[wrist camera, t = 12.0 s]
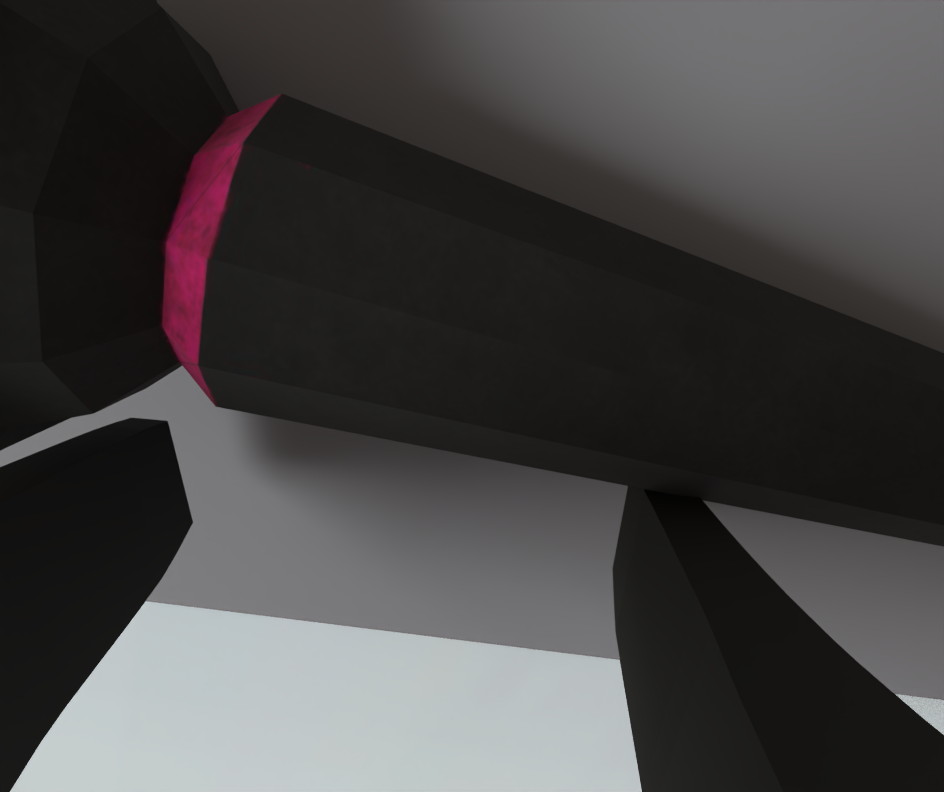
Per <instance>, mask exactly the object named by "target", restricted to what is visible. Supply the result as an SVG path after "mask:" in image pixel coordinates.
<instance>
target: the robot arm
mask: <svg viewBox="0 0 944 792" xmlns="http://www.w3.org/2000/svg"><path fill="white" fill-rule="evenodd" d="M192 524H193V520H192V516H191V512H190V508H189V504H188V500H187V496H186V492H185V488H184V484H183V480H182V476H181V472H180V468H179V464H178V460H177V456H176V452H175V448H174V444H173V440H172V436H171V432H170V428H169V424H168V421H164V420H153V419H142V418H129V419H125V420H122V421H118V422H115V423H112V424H109V425H106V426H103V427H100V428H98V429H95V430H92V431H89V432H87V433H84V434H82V435H79V436H76V437H74V438H71V439H69V440H66V441H64V442H61V443H59V444H56V445H54V446H51V447H49V448H46V449H44V450H41V451H39V452H36V453H34V454H31V455H29V456H26V457H24V458H22V459H19V460H17V461H14V462H12V463H9V464H7V465H4V466H2V467H0V792H10V790H11V789H12V787H13V786H14V784H15V782H16V781H17V779H18V778H19V776H20V774H21V773H22V771H23V770H24V768H25V766H26V765H27V763H28V762H29V760H30V758H31V757H32V755H33V754H34V752H35V750H36V749H37V747H38V746H39V744H40V742H41V741H42V740H43V738H44V737H45V735H46V734H47V732H48V731H49V730H50V728H51V727H52V725H53V724H54V722H55V721H56V720H57V718H58V717H59V715H60V714H61V713H62V711H63V710H64V708H65V707H66V706H67V704H68V703H69V702H70V700H71V699H72V698H73V696H74V695H75V694H76V692H77V691H78V690H79V689H80V687H81V686H82V685H83V683H84V682H85V681H86V679H87V678H88V677H89V675H90V674H91V673H92V671H93V670H94V669H95V667H96V666H97V665H98V663H99V662H100V661H101V660H102V658H103V657H104V656H105V654H106V653H107V652H108V650H109V649H110V648H111V646H112V645H113V644H114V642H115V641H116V640H117V638H118V637H119V636H120V634H121V633H122V632H123V631H124V629H125V628H126V627H127V625H128V624H129V623H130V621H131V620H132V619H133V617H134V616H135V615H136V613H137V612H138V611H139V609H140V608H141V606H142V605H143V604H144V602H145V601H146V600H147V598H148V597H149V596H150V594H151V593H152V592H153V590H154V589H155V587H156V586H157V585H158V583H159V582H160V580H161V579H162V578H163V576H164V574H165V573H166V571H167V569H168V567H169V566H170V564H171V562H172V561H173V559H174V557H175V555H176V554H177V552H178V550H179V548H180V546H181V544H182V543H183V541H184V539H185V537H186V535H187V533H188V531H189V529H190V527H191V526H192ZM612 570H613V594H614V614H615V632H616V638H617V645H618V651H619V657H620V663H621V669H622V675H623V681H624V687H625V693H626V699H627V705H628V711H629V717H630V723H631V729H632V735H633V740H634V746H635V752H636V758H637V764H638V770H639V776H640V782H641V788H642V792H944V735H943V734H942V733H940V732H939V731H938V730H937V729H935V728H934V727H933V726H932V725H930V724H929V723H928V722H927V721H926V720H924V719H923V718H922V717H921V716H920V715H918V714H917V713H916V712H915V711H914V710H912V709H911V708H910V707H909V706H908V705H907V704H906V703H904V702H903V701H902V700H901V699H900V698H899V697H897V696H896V695H895V694H894V693H893V692H892V691H891V690H889V689H888V688H887V687H886V686H885V685H884V684H882V683H881V682H880V681H879V680H878V679H877V678H876V677H874V676H873V675H872V674H871V673H870V672H869V671H867V670H866V669H865V668H864V667H863V666H862V665H861V664H859V663H858V662H857V661H856V660H855V659H854V658H853V657H852V656H851V655H850V654H848V653H847V652H846V651H845V650H844V649H843V648H842V647H841V646H840V645H839V644H838V643H836V642H835V641H834V640H833V639H832V638H831V637H830V636H829V635H828V634H827V633H826V632H825V631H824V630H823V629H822V628H821V627H820V626H819V625H818V624H817V623H816V622H815V621H814V620H813V619H812V618H811V617H810V616H809V615H808V614H807V613H806V612H805V611H804V610H803V609H802V608H801V607H800V606H799V605H798V604H797V603H795V602H794V601H793V600H792V599H791V598H790V597H789V596H788V595H787V594H786V593H785V591H784V590H783V589H782V588H781V587H780V586H779V585H778V584H777V583H776V582H775V581H774V580H773V579H772V578H771V577H770V576H769V575H768V574H767V573H766V572H765V571H764V569H763V568H762V567H761V566H760V565H759V564H758V563H757V562H756V561H755V560H754V559H753V558H752V556H751V555H750V554H749V553H748V552H747V551H746V550H745V549H744V548H743V547H742V545H741V544H740V543H739V542H738V541H737V540H736V539H735V538H734V536H733V535H732V534H731V533H730V532H729V531H728V530H727V528H726V527H725V526H724V525H723V524H722V523H721V521H720V520H719V519H718V518H717V517H716V516H715V514H714V513H713V512H712V511H711V510H710V509H709V507H708V506H707V505H706V504H705V503H704V501H703V500H702V499H701V498H698V497H689V496H679V495H673V494H667V493H662V492H657V491H652V490H647V489H641V488H636V487H631V486H628V489H627V494H626V499H625V504H624V510H623V515H622V520H621V526H620V531H619V536H618V542H617V547H616V552H615V558H614V563H613V568H612Z"/></svg>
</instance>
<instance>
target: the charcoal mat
mask: <svg viewBox="0 0 944 792" xmlns="http://www.w3.org/2000/svg"><path fill="white" fill-rule="evenodd" d="M157 3H158V4H159V5H160V6H161V7H162V8H163V9H164V10H165V11H166V12H167V13H168V14H169V15H170V16H171V17H172V18H173V19H174V20H175V21H176V22H177V23H179V24H180V25H181V26H182V27H183V28H184V29H185V30H186V31H187V32H188V33H189V34H190V35H191V36H192V37H193V38H194V39H195V40H196V41H197V42H198V43H199V44H200V45H201V46H202V47H203V48H204V49H205V50H206V51H207V52H208V53H209V54H210V55H211V57H212V59H213V61H214V63H215V65H216V67H217V69H218V71H219V73H220V75H221V77H222V79H223V81H224V83H225V84H226V86H227V88H228V90H229V92H230V94H231V96H232V98H233V100H234V102H235V104H236V106H237V108H238V110H239V112H240V111H242V110H245V109H247V108H249V107H252V106H254V105H256V104H259V103H261V102H263V101H265V100H268V99H270V98H272V97H275V96H277V95H279V94H285V95H287V96H290V97H292V98H295V99H298V100H300V101H303V102H305V103H308V104H310V105H313V106H315V107H318V108H320V109H323V110H326V111H328V112H331V113H333V114H336V115H338V116H341V117H343V118H346V119H348V120H351V121H354V122H356V123H359V124H361V125H364V126H366V127H369V128H371V129H374V130H377V131H379V132H382V133H384V134H387V135H389V136H392V137H394V138H397V139H399V140H402V141H405V142H407V143H410V144H412V145H415V146H417V147H420V148H422V149H425V150H427V151H430V152H433V153H435V154H438V155H440V156H443V157H445V158H448V159H450V160H453V161H455V162H458V163H461V164H463V165H466V166H468V167H471V168H473V169H476V170H478V171H481V172H484V173H486V174H489V175H491V176H494V177H496V178H499V179H501V180H504V181H506V182H509V183H512V184H514V185H517V186H519V187H522V188H524V189H527V190H529V191H532V192H534V193H537V194H540V195H542V196H545V197H547V198H550V199H552V200H555V201H557V202H560V203H562V204H565V205H568V206H570V207H573V208H575V209H578V210H580V211H583V212H585V213H588V214H591V215H593V216H596V217H598V218H601V219H603V220H606V221H608V222H611V223H613V224H616V225H619V226H621V227H624V228H626V229H629V230H631V231H634V232H636V233H639V234H641V235H644V236H647V237H649V238H652V239H654V240H657V241H659V242H662V243H664V244H667V245H670V246H672V247H675V248H677V249H680V250H682V251H685V252H687V253H690V254H692V255H695V256H698V257H700V258H703V259H705V260H708V261H710V262H713V263H715V264H718V265H720V266H723V267H726V268H728V269H731V270H733V271H736V272H738V273H741V274H743V275H746V276H748V277H751V278H754V279H756V280H759V281H761V282H764V283H766V284H769V285H771V286H774V287H777V288H779V289H782V290H784V291H787V292H789V293H792V294H794V295H797V296H799V297H802V298H805V299H807V300H810V301H812V302H815V303H817V304H820V305H822V306H825V307H827V308H830V309H833V310H835V311H838V312H840V313H843V314H845V315H848V316H850V317H853V318H856V319H858V320H861V321H863V322H866V323H868V324H871V325H873V326H876V327H878V328H881V329H884V330H886V331H889V332H891V333H894V334H896V335H899V336H901V337H904V338H906V339H909V340H912V341H914V342H917V343H919V344H922V345H924V346H927V347H929V348H932V349H934V350H937V351H940V352H942V353H944V0H157ZM129 418H142V419H153V420H164V421H168V424H169V428H170V432H171V436H172V440H173V444H174V448H175V452H176V456H177V460H178V464H179V468H180V472H181V476H182V480H183V484H184V488H185V492H186V496H187V500H188V504H189V508H190V512H191V516H192V520H193V524H192V526H191V527H190V529H189V531H188V533H187V535H186V537H185V539H184V541H183V543H182V544H181V546H180V548H179V550H178V552H177V554H176V555H175V557H174V559H173V561H172V562H171V564H170V566H169V567H168V569H167V571H166V573H165V574H164V576H163V578H162V579H161V580H160V582H159V583H158V585H157V586H156V587H155V589H154V590H153V592H152V593H151V594H150V596H149V597H148V598H147V600H146V601H149V602H158V603H166V604H174V605H182V606H190V607H198V608H206V609H214V610H222V611H230V612H238V613H246V614H254V615H263V616H271V617H279V618H287V619H295V620H303V621H311V622H319V623H327V624H335V625H343V626H351V627H359V628H368V629H376V630H384V631H392V632H400V633H408V634H416V635H424V636H432V637H440V638H448V639H456V640H464V641H473V642H481V643H489V644H497V645H505V646H513V647H521V648H529V649H537V650H545V651H553V652H561V653H569V654H578V655H586V656H594V657H602V658H610V659H618V660H620V657H619V651H618V645H617V638H616V632H615V614H614V594H613V570H612V568H613V563H614V558H615V552H616V547H617V542H618V536H619V531H620V526H621V520H622V515H623V510H624V504H625V499H626V494H627V489H628V486H626V485H621V484H615V483H610V482H605V481H600V480H595V479H589V478H584V477H579V476H574V475H569V474H563V473H558V472H553V471H548V470H543V469H537V468H532V467H527V466H522V465H517V464H511V463H506V462H501V461H496V460H491V459H485V458H480V457H475V456H470V455H465V454H459V453H454V452H449V451H444V450H439V449H433V448H428V447H423V446H418V445H413V444H407V443H402V442H397V441H392V440H387V439H381V438H376V437H371V436H366V435H361V434H355V433H350V432H345V431H340V430H335V429H329V428H324V427H319V426H314V425H309V424H303V423H298V422H293V421H288V420H283V419H277V418H272V417H267V416H262V415H257V414H251V413H246V412H241V411H236V410H231V409H225V408H220V407H215V405H214V404H213V403H212V402H211V400H210V399H209V398H208V397H207V395H206V394H205V393H204V392H203V390H202V389H201V388H200V387H199V385H198V384H197V383H196V382H195V380H194V379H193V378H192V377H191V375H190V374H189V373H188V372H187V370H186V369H185V368H184V367H183V366H181V367H179V368H178V369H176V370H175V371H173V372H171V373H170V374H168V375H167V376H165V377H164V378H162V379H160V380H159V381H157V382H156V383H154V384H152V385H151V386H149V387H148V388H146V389H144V390H142V391H139V392H137V393H135V394H133V395H131V396H129V397H127V398H125V399H123V400H121V401H119V402H117V403H115V404H112V405H110V406H108V407H106V408H104V409H102V410H100V411H98V412H96V413H94V414H89V415H84V416H78V417H72V418H70V419H67V420H65V421H63V422H61V423H59V424H57V425H55V426H52V427H50V428H48V429H46V430H44V431H42V432H39V433H37V434H35V435H33V436H31V437H29V438H26V439H24V440H22V441H20V442H18V443H16V444H13V445H11V446H9V447H7V448H5V449H3V450H1V451H0V467H2V466H4V465H7V464H9V463H12V462H14V461H17V460H19V459H22V458H24V457H26V456H29V455H31V454H34V453H36V452H39V451H41V450H44V449H46V448H49V447H51V446H54V445H56V444H59V443H61V442H64V441H66V440H69V439H71V438H74V437H76V436H79V435H82V434H84V433H87V432H89V431H92V430H95V429H98V428H100V427H103V426H106V425H109V424H112V423H115V422H118V421H122V420H125V419H129ZM703 501H704V500H703ZM704 503H705V504H706V505H707V506H708V507H709V509H710V510H711V511H712V512H713V513H714V514H715V516H716V517H717V518H718V519H719V520H720V521H721V523H722V524H723V525H724V526H725V527H726V528H727V530H728V531H729V532H730V533H731V534H732V535H733V536H734V538H735V539H736V540H737V541H738V542H739V543H740V544H741V545H742V547H743V548H744V549H745V550H746V551H747V552H748V553H749V554H750V555H751V556H752V558H753V559H754V560H755V561H756V562H757V563H758V564H759V565H760V566H761V567H762V568H763V569H764V571H765V572H766V573H767V574H768V575H769V576H770V577H771V578H772V579H773V580H774V581H775V582H776V583H777V584H778V585H779V586H780V587H781V588H782V589H783V590H784V591H785V593H786V594H787V595H788V596H789V597H790V598H791V599H792V600H793V601H794V602H795V603H797V604H798V605H799V606H800V607H801V608H802V609H803V610H804V611H805V612H806V613H807V614H808V615H809V616H810V617H811V618H812V619H813V620H814V621H815V622H816V623H817V624H818V625H819V626H820V627H821V628H822V629H823V630H824V631H825V632H826V633H827V634H828V635H829V636H830V637H831V638H832V639H833V640H834V641H835V642H836V643H838V644H839V645H840V646H841V647H842V648H843V649H844V650H845V651H846V652H847V653H848V654H850V655H851V656H852V657H853V658H854V659H855V660H856V661H857V662H858V663H859V664H861V665H862V666H863V667H864V668H865V669H866V670H867V671H869V672H870V673H871V674H872V675H873V676H874V677H876V678H877V679H878V680H879V681H880V682H881V683H882V684H884V685H885V686H886V687H887V688H888V689H889V690H891V691H892V692H893V693H894V694H901V695H909V696H917V697H925V698H933V699H941V700H944V547H943V546H938V545H933V544H927V543H922V542H917V541H912V540H907V539H901V538H896V537H891V536H886V535H881V534H875V533H870V532H865V531H860V530H855V529H849V528H844V527H839V526H834V525H829V524H823V523H818V522H813V521H808V520H803V519H797V518H792V517H787V516H782V515H777V514H771V513H766V512H761V511H756V510H751V509H745V508H740V507H735V506H730V505H725V504H719V503H714V502H709V501H704Z"/></svg>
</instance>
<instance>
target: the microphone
mask: <svg viewBox="0 0 944 792" xmlns="http://www.w3.org/2000/svg"><path fill="white" fill-rule="evenodd" d="M181 366H183V367H184V368H185V369H186V370H187V372H188V373H189V374H190V375H191V377H192V378H193V379H194V380H195V382H196V383H197V384H198V385H199V387H200V388H201V389H202V390H203V392H204V393H205V394H206V395H207V397H208V398H209V399H210V400H211V402H212V403H213V404H214V405H215V407H220V408H225V409H231V410H236V411H241V412H246V413H251V414H257V415H262V416H267V417H272V418H277V419H283V420H288V421H293V422H298V423H303V424H309V425H314V426H319V427H324V428H329V429H335V430H340V431H345V432H350V433H355V434H361V435H366V436H371V437H376V438H381V439H387V440H392V441H397V442H402V443H407V444H413V445H418V446H423V447H428V448H433V449H439V450H444V451H449V452H454V453H459V454H465V455H470V456H475V457H480V458H485V459H491V460H496V461H501V462H506V463H511V464H517V465H522V466H527V467H532V468H537V469H543V470H548V471H553V472H558V473H563V474H569V475H574V476H579V477H584V478H589V479H595V480H600V481H605V482H610V483H615V484H621V485H626V486H631V487H636V488H641V489H647V490H652V491H657V492H662V493H667V494H673V495H679V496H689V497H698V498H701V499H702V500H704V501H709V502H714V503H719V504H725V505H730V506H735V507H740V508H745V509H751V510H756V511H761V512H766V513H771V514H777V515H782V516H787V517H792V518H797V519H803V520H808V521H813V522H818V523H823V524H829V525H834V526H839V527H844V528H849V529H855V530H860V531H865V532H870V533H875V534H881V535H886V536H891V537H896V538H901V539H907V540H912V541H917V542H922V543H927V544H933V545H938V546H943V547H944V353H942V352H940V351H937V350H934V349H932V348H929V347H927V346H924V345H922V344H919V343H917V342H914V341H912V340H909V339H906V338H904V337H901V336H899V335H896V334H894V333H891V332H889V331H886V330H884V329H881V328H878V327H876V326H873V325H871V324H868V323H866V322H863V321H861V320H858V319H856V318H853V317H850V316H848V315H845V314H843V313H840V312H838V311H835V310H833V309H830V308H827V307H825V306H822V305H820V304H817V303H815V302H812V301H810V300H807V299H805V298H802V297H799V296H797V295H794V294H792V293H789V292H787V291H784V290H782V289H779V288H777V287H774V286H771V285H769V284H766V283H764V282H761V281H759V280H756V279H754V278H751V277H748V276H746V275H743V274H741V273H738V272H736V271H733V270H731V269H728V268H726V267H723V266H720V265H718V264H715V263H713V262H710V261H708V260H705V259H703V258H700V257H698V256H695V255H692V254H690V253H687V252H685V251H682V250H680V249H677V248H675V247H672V246H670V245H667V244H664V243H662V242H659V241H657V240H654V239H652V238H649V237H647V236H644V235H641V234H639V233H636V232H634V231H631V230H629V229H626V228H624V227H621V226H619V225H616V224H613V223H611V222H608V221H606V220H603V219H601V218H598V217H596V216H593V215H591V214H588V213H585V212H583V211H580V210H578V209H575V208H573V207H570V206H568V205H565V204H562V203H560V202H557V201H555V200H552V199H550V198H547V197H545V196H542V195H540V194H537V193H534V192H532V191H529V190H527V189H524V188H522V187H519V186H517V185H514V184H512V183H509V182H506V181H504V180H501V179H499V178H496V177H494V176H491V175H489V174H486V173H484V172H481V171H478V170H476V169H473V168H471V167H468V166H466V165H463V164H461V163H458V162H455V161H453V160H450V159H448V158H445V157H443V156H440V155H438V154H435V153H433V152H430V151H427V150H425V149H422V148H420V147H417V146H415V145H412V144H410V143H407V142H405V141H402V140H399V139H397V138H394V137H392V136H389V135H387V134H384V133H382V132H379V131H377V130H374V129H371V128H369V127H366V126H364V125H361V124H359V123H356V122H354V121H351V120H348V119H346V118H343V117H341V116H338V115H336V114H333V113H331V112H328V111H326V110H323V109H320V108H318V107H315V106H313V105H310V104H308V103H305V102H303V101H300V100H298V99H295V98H292V97H290V96H287V95H285V94H279V95H277V96H275V97H272V98H270V99H268V100H265V101H263V102H261V103H259V104H256V105H254V106H252V107H249V108H247V109H245V110H242V111H240V112H239V110H238V108H237V106H236V104H235V102H234V100H233V98H232V96H231V94H230V92H229V90H228V88H227V86H226V84H225V83H224V81H223V79H222V77H221V75H220V73H219V71H218V69H217V67H216V65H215V63H214V61H213V59H212V57H211V55H210V54H209V53H208V52H207V51H206V50H205V49H204V48H203V47H202V46H201V45H200V44H199V43H198V42H197V41H196V40H195V39H194V38H193V37H192V36H191V35H190V34H189V33H188V32H187V31H186V30H185V29H184V28H183V27H182V26H181V25H180V24H179V23H177V22H176V21H175V20H174V19H173V18H172V17H171V16H170V15H169V14H168V13H167V12H166V11H165V10H164V9H163V8H162V7H161V6H160V5H159V4H158V3H157V0H0V451H1V450H3V449H5V448H7V447H9V446H11V445H13V444H16V443H18V442H20V441H22V440H24V439H26V438H29V437H31V436H33V435H35V434H37V433H39V432H42V431H44V430H46V429H48V428H50V427H52V426H55V425H57V424H59V423H61V422H63V421H65V420H67V419H70V418H72V417H78V416H84V415H89V414H94V413H96V412H98V411H100V410H102V409H104V408H106V407H108V406H110V405H112V404H115V403H117V402H119V401H121V400H123V399H125V398H127V397H129V396H131V395H133V394H135V393H137V392H139V391H142V390H144V389H146V388H148V387H149V386H151V385H152V384H154V383H156V382H157V381H159V380H160V379H162V378H164V377H165V376H167V375H168V374H170V373H171V372H173V371H175V370H176V369H178V368H179V367H181Z"/></svg>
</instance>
